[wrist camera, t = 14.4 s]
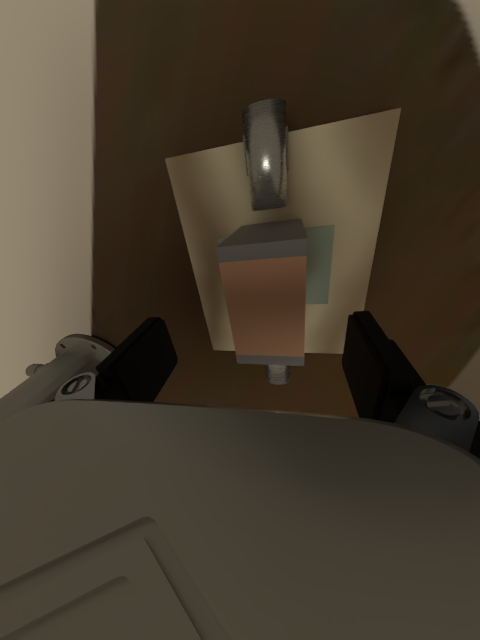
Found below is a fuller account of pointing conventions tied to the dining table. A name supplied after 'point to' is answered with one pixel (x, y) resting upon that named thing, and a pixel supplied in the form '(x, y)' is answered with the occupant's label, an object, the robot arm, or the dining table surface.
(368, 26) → the dining table surface
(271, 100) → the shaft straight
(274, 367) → the shaft angled
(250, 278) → the orange and grey block
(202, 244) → the base
